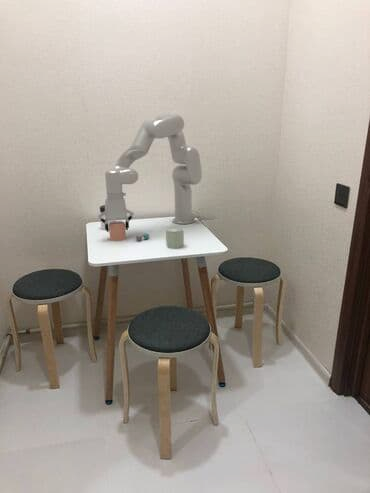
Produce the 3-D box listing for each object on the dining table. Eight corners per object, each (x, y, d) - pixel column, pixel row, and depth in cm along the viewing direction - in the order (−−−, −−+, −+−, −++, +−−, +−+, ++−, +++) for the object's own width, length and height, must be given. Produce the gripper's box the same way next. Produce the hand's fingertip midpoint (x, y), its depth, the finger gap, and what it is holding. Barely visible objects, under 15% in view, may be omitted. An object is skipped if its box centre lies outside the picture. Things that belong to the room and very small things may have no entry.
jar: (111, 224, 219) (109, 203, 216) (120, 227, 214) (118, 206, 210) (97, 228, 213) (95, 206, 209) (106, 231, 208) (105, 208, 204)
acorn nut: (180, 242, 188) (180, 226, 185) (185, 247, 181) (184, 230, 178) (165, 244, 186) (164, 227, 183) (169, 249, 179) (168, 232, 176)
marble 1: (143, 236, 190) (142, 239, 192) (139, 232, 191) (138, 236, 193) (139, 239, 188) (138, 243, 191) (135, 235, 189) (134, 239, 191)
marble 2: (150, 236, 192) (149, 239, 194) (148, 231, 193) (147, 235, 196) (144, 237, 191) (143, 240, 193) (142, 232, 192) (142, 236, 194)
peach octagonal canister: (124, 235, 200) (123, 220, 197) (126, 239, 193) (125, 224, 190) (109, 237, 198) (108, 221, 195) (111, 241, 191) (110, 225, 188)
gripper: (131, 193, 194) (133, 226, 200) (95, 195, 189) (98, 230, 195) (134, 196, 187) (135, 230, 193) (97, 198, 183) (100, 234, 188)
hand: (117, 230), depth 194 cm, fingers open, 9 cm apart
